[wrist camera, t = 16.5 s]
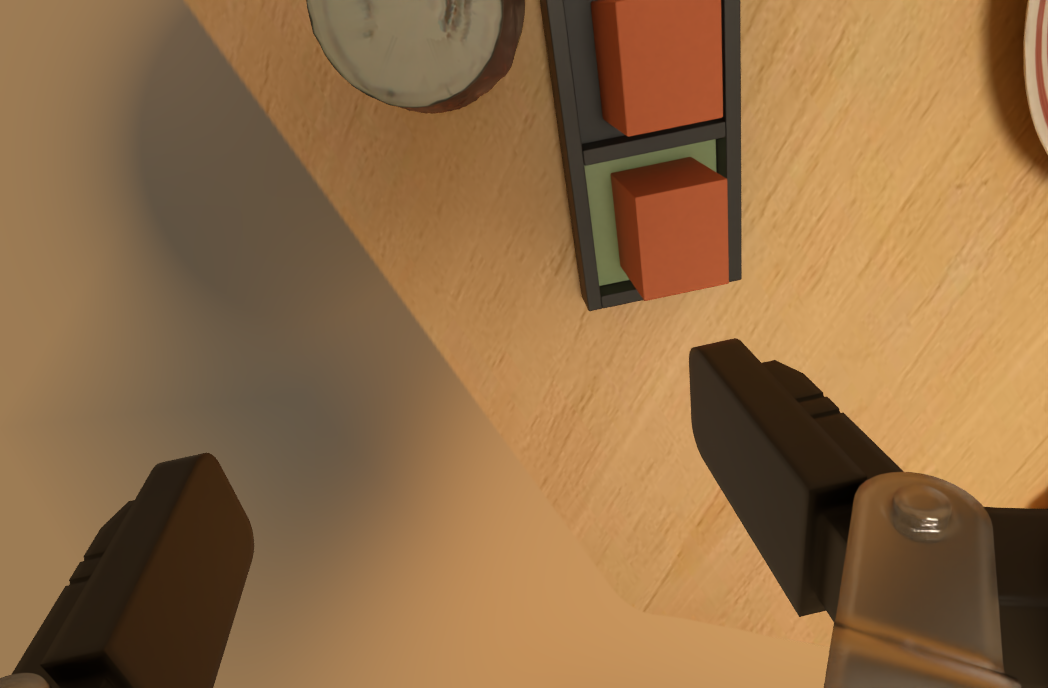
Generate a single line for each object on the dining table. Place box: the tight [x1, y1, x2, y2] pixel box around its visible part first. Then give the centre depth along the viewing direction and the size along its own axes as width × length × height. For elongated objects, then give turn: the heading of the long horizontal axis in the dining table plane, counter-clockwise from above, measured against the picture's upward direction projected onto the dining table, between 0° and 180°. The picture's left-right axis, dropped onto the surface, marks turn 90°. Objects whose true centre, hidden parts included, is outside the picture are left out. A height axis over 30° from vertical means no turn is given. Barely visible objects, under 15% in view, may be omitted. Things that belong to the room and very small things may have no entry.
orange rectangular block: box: [591, 0, 723, 137], centre depth 29 cm, size 4×6×5 cm
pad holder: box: [540, 0, 741, 311], centre depth 33 cm, size 9×17×2 cm, turn 10°
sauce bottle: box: [306, 0, 525, 113], centre depth 22 cm, size 7×6×20 cm
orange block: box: [611, 157, 729, 301], centre depth 33 cm, size 4×6×5 cm
